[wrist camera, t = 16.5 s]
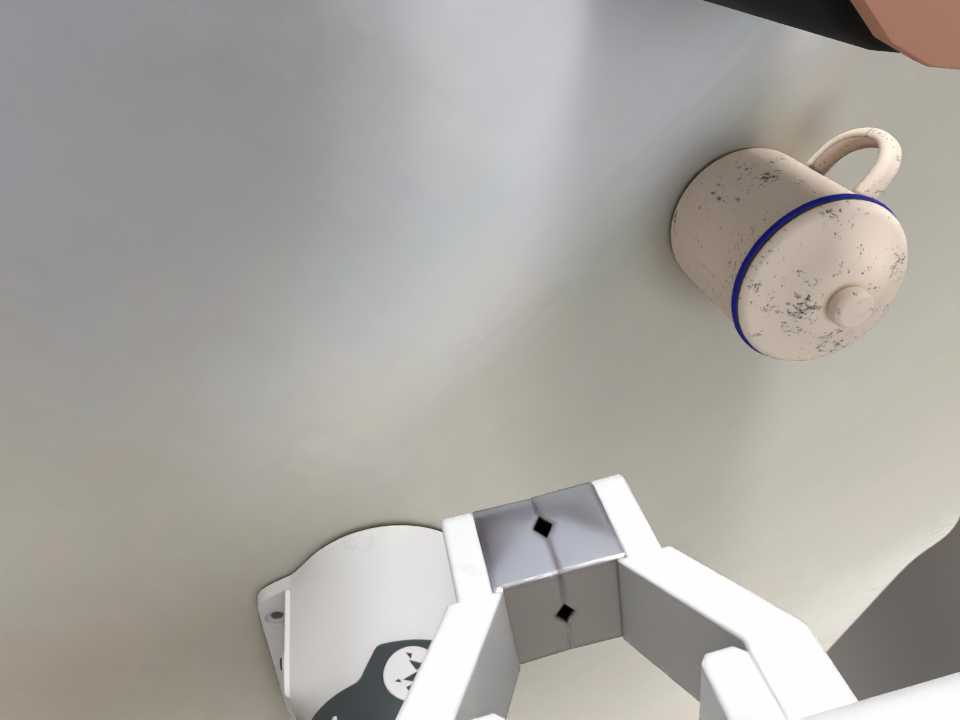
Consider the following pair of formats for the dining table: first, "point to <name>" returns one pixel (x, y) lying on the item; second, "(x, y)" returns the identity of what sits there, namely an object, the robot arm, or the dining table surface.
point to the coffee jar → (872, 24)
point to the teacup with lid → (794, 245)
